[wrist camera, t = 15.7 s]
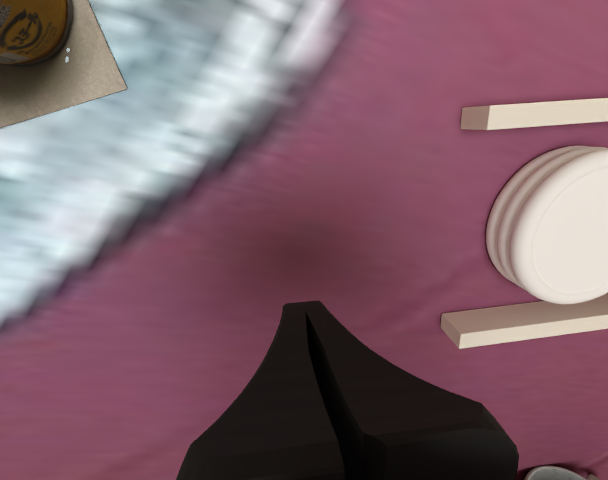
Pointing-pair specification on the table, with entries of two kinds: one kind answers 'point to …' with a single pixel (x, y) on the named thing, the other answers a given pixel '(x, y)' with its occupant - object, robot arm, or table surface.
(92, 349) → the table surface
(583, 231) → the coaster
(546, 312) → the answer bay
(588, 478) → the ceramic mug
